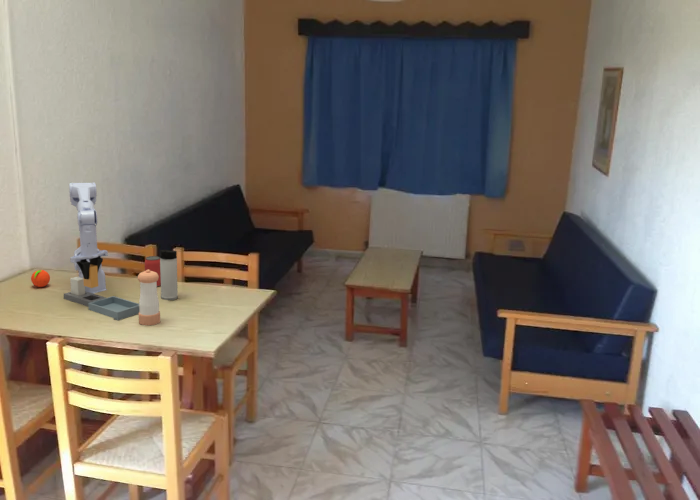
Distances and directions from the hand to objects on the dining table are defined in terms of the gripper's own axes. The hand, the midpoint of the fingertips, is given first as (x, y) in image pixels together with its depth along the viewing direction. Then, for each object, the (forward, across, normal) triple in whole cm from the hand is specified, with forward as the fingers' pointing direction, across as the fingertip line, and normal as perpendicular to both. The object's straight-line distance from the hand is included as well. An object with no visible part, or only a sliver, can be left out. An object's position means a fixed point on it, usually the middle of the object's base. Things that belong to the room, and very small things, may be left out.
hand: (90, 277), depth 234 cm
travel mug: (+11, +22, -17) cm, 30 cm away
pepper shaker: (+11, 0, -31) cm, 33 cm away
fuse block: (+10, 0, +4) cm, 11 cm away
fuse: (+10, 0, +8) cm, 13 cm away
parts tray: (+10, 0, -14) cm, 17 cm away
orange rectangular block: (+3, 0, 0) cm, 3 cm away
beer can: (+11, +30, +1) cm, 32 cm away
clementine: (+11, 0, +33) cm, 35 cm away
